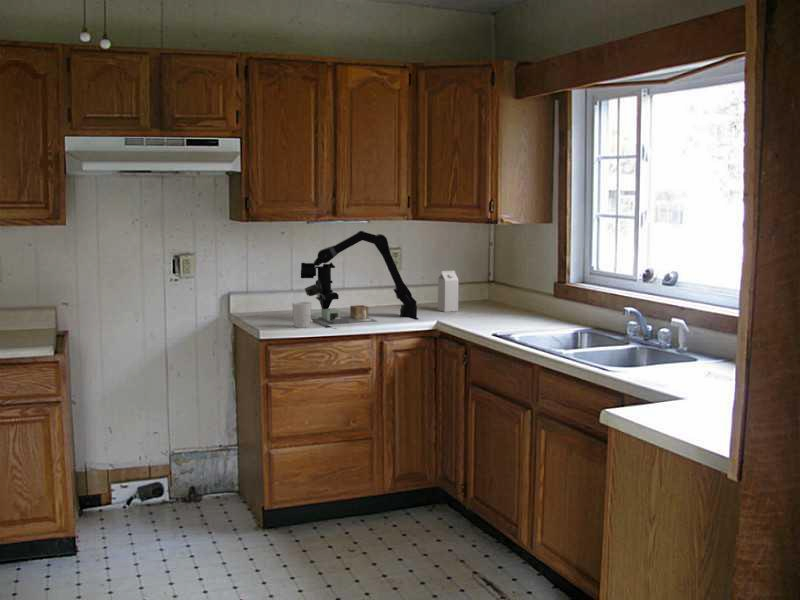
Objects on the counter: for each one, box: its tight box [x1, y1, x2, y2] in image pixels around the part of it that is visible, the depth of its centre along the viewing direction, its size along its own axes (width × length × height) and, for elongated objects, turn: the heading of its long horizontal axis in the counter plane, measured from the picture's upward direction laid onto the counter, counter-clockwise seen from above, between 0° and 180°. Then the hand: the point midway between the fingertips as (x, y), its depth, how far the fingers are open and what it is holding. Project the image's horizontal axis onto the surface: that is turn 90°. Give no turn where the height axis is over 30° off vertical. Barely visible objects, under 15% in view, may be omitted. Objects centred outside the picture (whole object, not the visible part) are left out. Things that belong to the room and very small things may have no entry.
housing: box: [321, 308, 342, 321], centre depth 383 cm, size 6×7×4 cm
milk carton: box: [437, 270, 459, 313], centre depth 418 cm, size 7×7×19 cm
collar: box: [349, 304, 369, 319], centre depth 389 cm, size 6×6×5 cm
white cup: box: [291, 301, 312, 329], centre depth 372 cm, size 8×8×10 cm
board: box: [312, 310, 377, 329], centre depth 382 cm, size 24×16×5 cm, turn 116°
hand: (324, 313), depth 390 cm, fingers closed
